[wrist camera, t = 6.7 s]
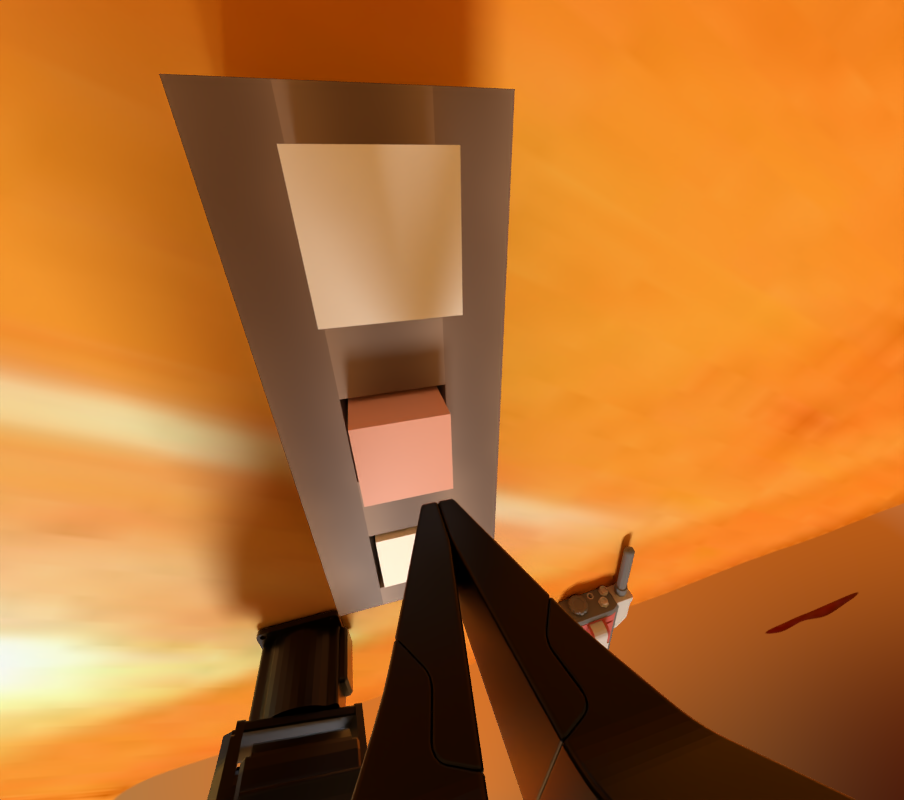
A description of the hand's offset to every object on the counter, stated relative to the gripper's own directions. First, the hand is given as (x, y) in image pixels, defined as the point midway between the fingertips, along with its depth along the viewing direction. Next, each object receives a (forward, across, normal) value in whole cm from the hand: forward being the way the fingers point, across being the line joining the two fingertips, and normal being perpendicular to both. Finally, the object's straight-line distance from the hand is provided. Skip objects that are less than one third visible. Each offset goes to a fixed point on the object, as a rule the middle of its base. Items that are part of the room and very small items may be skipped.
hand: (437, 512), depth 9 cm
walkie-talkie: (+13, -20, +35) cm, 42 cm away
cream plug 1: (+9, 0, -6) cm, 11 cm away
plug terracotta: (+11, 0, +3) cm, 11 cm away
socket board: (+13, 0, +3) cm, 13 cm away
